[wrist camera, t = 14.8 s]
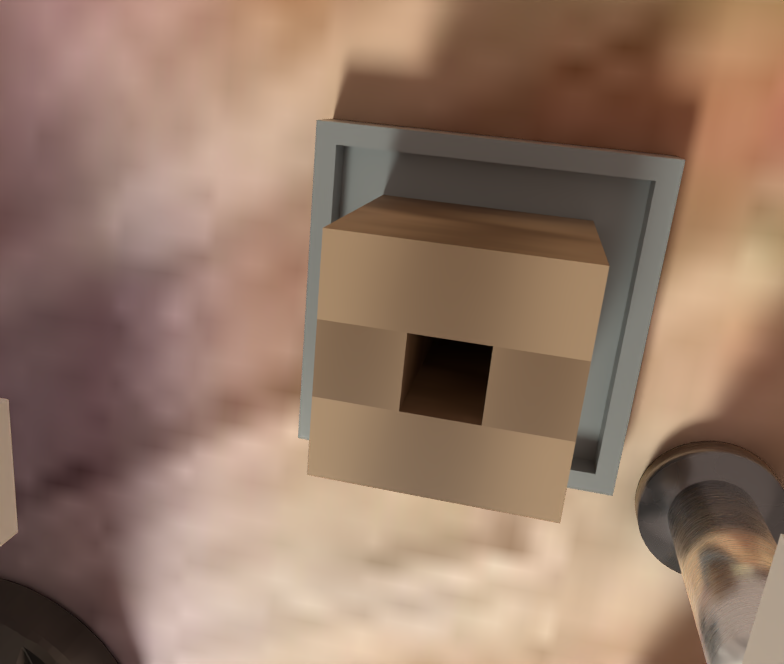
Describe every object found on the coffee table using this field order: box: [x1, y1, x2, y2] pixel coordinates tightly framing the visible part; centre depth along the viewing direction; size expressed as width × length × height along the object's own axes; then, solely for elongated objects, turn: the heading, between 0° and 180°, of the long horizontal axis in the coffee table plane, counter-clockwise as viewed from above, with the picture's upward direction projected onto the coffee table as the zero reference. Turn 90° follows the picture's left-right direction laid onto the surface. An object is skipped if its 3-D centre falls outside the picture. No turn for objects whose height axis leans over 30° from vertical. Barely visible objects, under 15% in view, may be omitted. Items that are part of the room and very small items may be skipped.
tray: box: [298, 119, 685, 496], centre depth 25 cm, size 11×11×2 cm
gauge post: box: [635, 441, 784, 664], centre depth 23 cm, size 5×5×8 cm
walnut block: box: [307, 195, 609, 523], centre depth 22 cm, size 7×7×7 cm
